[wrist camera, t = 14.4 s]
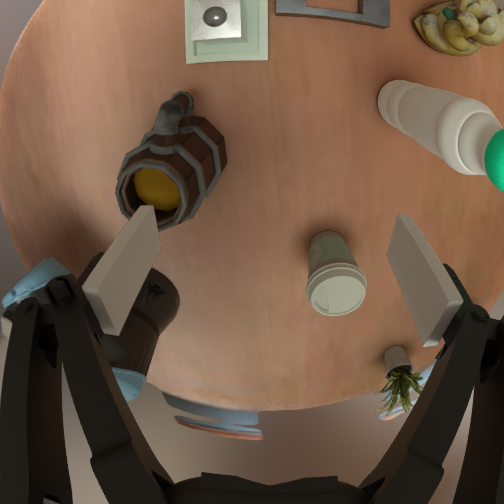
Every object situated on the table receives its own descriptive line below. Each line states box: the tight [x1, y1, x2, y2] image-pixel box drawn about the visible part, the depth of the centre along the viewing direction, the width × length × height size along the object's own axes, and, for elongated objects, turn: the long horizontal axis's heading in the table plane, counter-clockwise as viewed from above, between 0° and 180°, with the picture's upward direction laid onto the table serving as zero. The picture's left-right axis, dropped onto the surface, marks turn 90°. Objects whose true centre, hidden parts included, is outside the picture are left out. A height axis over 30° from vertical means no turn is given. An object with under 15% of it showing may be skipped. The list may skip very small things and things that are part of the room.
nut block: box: [191, 0, 248, 45], centre depth 25 cm, size 5×5×8 cm
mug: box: [115, 91, 227, 232], centre depth 33 cm, size 16×12×15 cm
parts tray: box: [185, 0, 268, 64], centre depth 28 cm, size 10×10×2 cm
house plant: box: [376, 346, 423, 416], centre depth 57 cm, size 14×14×16 cm
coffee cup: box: [306, 231, 367, 316], centre depth 43 cm, size 8×9×12 cm
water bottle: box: [378, 80, 504, 192], centre depth 23 cm, size 7×7×25 cm
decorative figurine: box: [414, 0, 504, 56], centre depth 19 cm, size 10×8×15 cm
